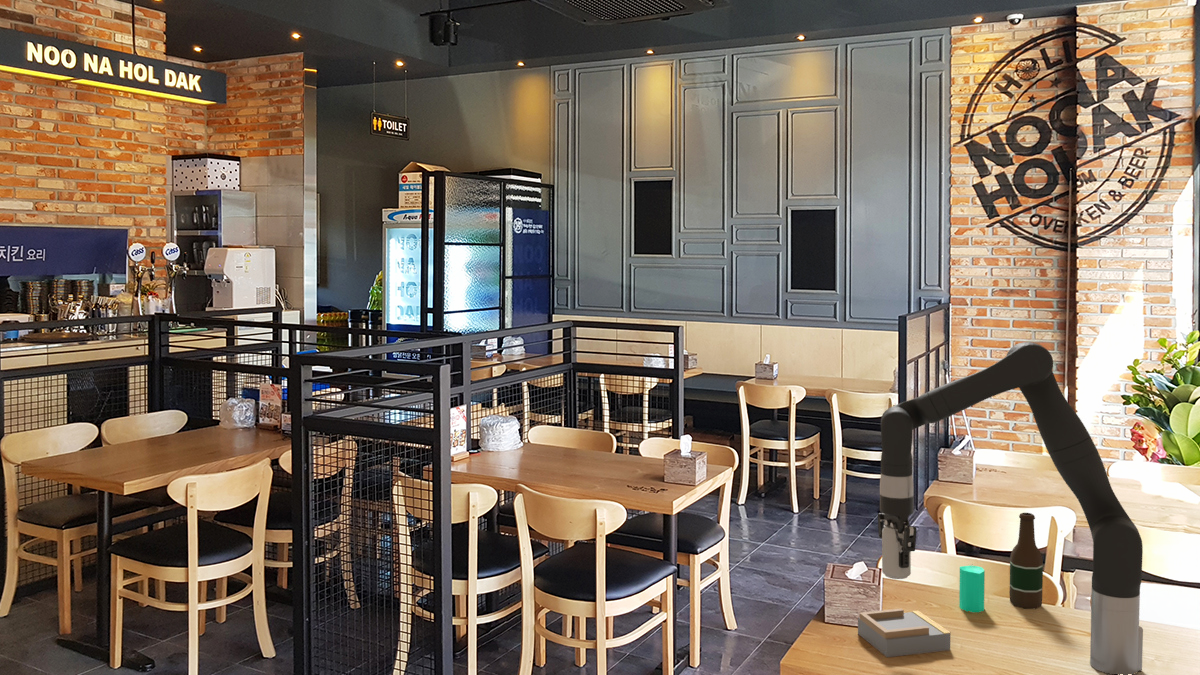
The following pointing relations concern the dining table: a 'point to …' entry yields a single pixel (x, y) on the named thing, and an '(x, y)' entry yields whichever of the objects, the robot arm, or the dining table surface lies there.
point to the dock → (902, 632)
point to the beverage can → (892, 555)
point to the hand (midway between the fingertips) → (896, 562)
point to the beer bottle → (1026, 567)
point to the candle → (972, 588)
